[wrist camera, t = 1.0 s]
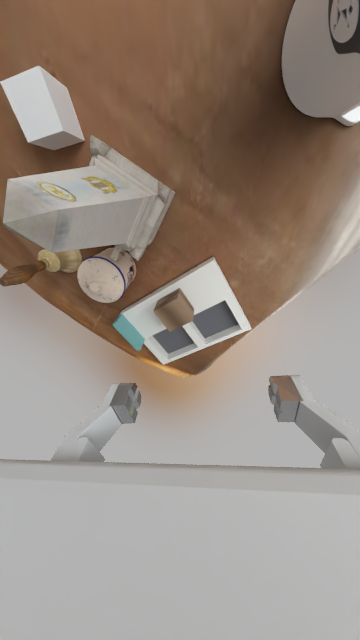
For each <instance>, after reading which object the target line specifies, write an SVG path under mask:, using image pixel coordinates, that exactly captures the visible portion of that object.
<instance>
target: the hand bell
mask: <svg viewBox="0 0 360 640" xmlns="http://www.w3.org/2000/svg"><path fill="white" fill-rule="evenodd" d="M81 263H82V255H81V252H80V250H79V249H77V250H69V251H61V252H53V253H51V252H49V251H48V250H46V249H43V250H41V251H40V252H39V253H38V261H37V262H35V263H33V264H31V265H23V266H17V267H14V268H12V269H10V270H8V271H7V272H6V273H5V274H4V275H3V277H1V278H0V284H1V285H2V286H9V285H16V284H21V283H24V282H26V281H28V280H29V279H30V278H31V277H32V276H33V275H34V274H35V273H36V272H38V271H41V270H43V269H46V270H48V271H51V272H56V271H59V270H61V271H63V272H68V273H72V272H76V271H77V270H78V268H79V266H80V264H81Z"/></svg>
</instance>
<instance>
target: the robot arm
mask: <svg viewBox="0 0 360 640" xmlns="http://www.w3.org/2000/svg"><path fill="white" fill-rule="evenodd" d="M282 75H283V81H284V85H285V89H286V92H287V94H288V96H289V98H290V100H291V102H292V103H293V104H294V106H295V107H296V108H297V109H298V110H300V111H301V112H302V113H304V114H306V115H309V116H312V117H331V118H335V119H336V120H338V121H339V122H340V123H342V124H344V125H346V126H352V125H354V124H356V123H358V122H359V121H360V0H295V3H294V5H293V8H292V11H291V13H290V17H289V20H288V23H287V27H286V31H285V36H284V42H283V49H282ZM269 381H270V385H269V389H268V391H269V397H270V400H271V403H272V404H273V405H274V412H275V415H276V417H277V420H278V422H295V423H296V425H297V426H298V427H299V428H300V429H301V430H302V431H303V432H304V433H305V434H306V435H308V437H310V439H312V441H313V442H314V443H315V444H316V445H317V446H318V447H319V448H320V449H321V450H323V452H324V453H325V456H324V458H323V460H322V463H321V464H320V466H321V468H292V467H291V468H290V467H256V466H254V467H253V466H220V465H185V464H149V463H112V462H104V460H105V459H104V457H103V456H102V455H101V453H100V450H101V449H102V448H103V447H104V446H105V444H106V443H107V442H108V441H109V439H110V438H111V437H112V436H113V435H114V433H115V432H116V431H117V430H118V428H119V427H120V426H121V425H122V424H123V423H135V420H136V416H137V410H136V409H137V408H138V407H139V406H140V403H141V394H140V391H138V390H137V385H136V383H119V384H118V383H116V384H112V385H111V386H110V389H109V391H108V393H107V395H106V397H105V399H104V401H103V403H102V405H101V406H99V407H98V408H97V409H95V410H94V411H93V412H92V413H91V414H90V415H88V416H87V417H86V418H85V419H84V420H83V421H82V422H80V423H79V424H78V425H77V426H76V427H75V428H74V429H72V430H71V431H70V432H69V433H68V434H67V435H65V436H64V438H63V440H62V442H61V443H60V445H59V447H58V449H57V451H56V452H55V454H54V456H53V457H52V459H51V461H40V460H39V461H38V460H4V459H0V640H360V430H359V429H357V428H356V427H354V426H353V425H351V424H350V423H348V422H347V421H346V420H344V419H343V418H341V417H340V416H339V415H337V414H336V413H334V412H333V411H332V410H330V409H329V408H327V407H326V406H324V405H323V404H322V403H320V402H319V401H315V400H314V399H313V397H312V395H311V394H310V392H309V390H308V388H307V386H306V385H305V383H304V381H303V379H302V378H301V376H300V375H289V376H288V375H287V376H271V377H270V379H269Z"/></svg>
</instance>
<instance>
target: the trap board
mask: <svg viewBox="0 0 360 640" xmlns="http://www.w3.org/2000/svg"><path fill="white" fill-rule="evenodd" d="M179 288H180V289H181V290H182V292H183V293H184V295H185V296H186V298H187V299H188V301H189V302H190V303H191V305H192V306H193V308H194V317H193V321H192V322H190V323H187V324H185V325H183V326H181V327H179V328H177V329H175V330H173V331H171V332H169V331H168V329H167V328H166V327H165V326H164V324H163V323H162V322H161V321H160V319H159V318H158V317H157V316H156V314H155V313H154V312H153V311H154V308H155V306H156V303H157V301H158V300H159V299H161V298H163V297H164V296H166V295H168V294H170V293H171V292H173V291H175V290H177V289H179ZM112 325H113V326H114V327H115V328H116V329H117V331H118V332H119V333H120V334H121V335H122V336H123V337H124V338H125V339H126V340H127V341H128V342H129V343H130V344H131V345H132V346H133V347H134V348H135V349H136V350H137V351H139V350H141V348H142V345H143V343H144V344H145V345H146V346H147V347H148V349H149V350H150V351H151V352H152V353H153V354H154V355H155V356H156V357H157V358H158V359H159V361H160V362H161V363H162V364H163V365H164V364H166V363H169V362H171V361H174V360H176V359H179V358H181V357H184V356H186V355H189V354H191V353H194V352H196V351H198V350H201V349H203V348H206V347H208V346H211V345H213V344H216V343H218V342H221V341H223V340H226V339H228V338H231V337H233V336H235V335H238V334H240V333H243V332H245V331H248V330H250V329H251V326H250V323H249V321H248V319H247V317H246V315H245V314H244V312H243V310H242V308H241V306H240V304H239V302H238V301H237V299H236V297H235V295H234V293H233V291H232V289H231V288H230V286H229V284H228V282H227V280H226V278H225V276H224V275H223V273H222V271H221V269H220V267H219V265H218V263H217V261H216V260H215V258H214V256H212V257H210V258H209V259H207V260H205V261H204V262H202V263H200V264H199V265H197V266H195V267H194V268H192V269H190V270H189V271H187V272H185V273H183V274H182V275H180V276H178V277H177V278H175V279H173V280H172V281H170V282H168V283H167V284H165V285H163V286H162V287H160V288H158V289H157V290H155V291H153V292H151V293H150V294H148V295H146V296H145V297H143V298H141V299H140V300H138V301H136V302H135V303H133V304H131V305H130V306H128V307H126V308H125V309H123V310H122V311H121V313H120V314H119V316H118V317H117V319H116V320H115V322H114V323H113V324H112Z"/></svg>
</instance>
